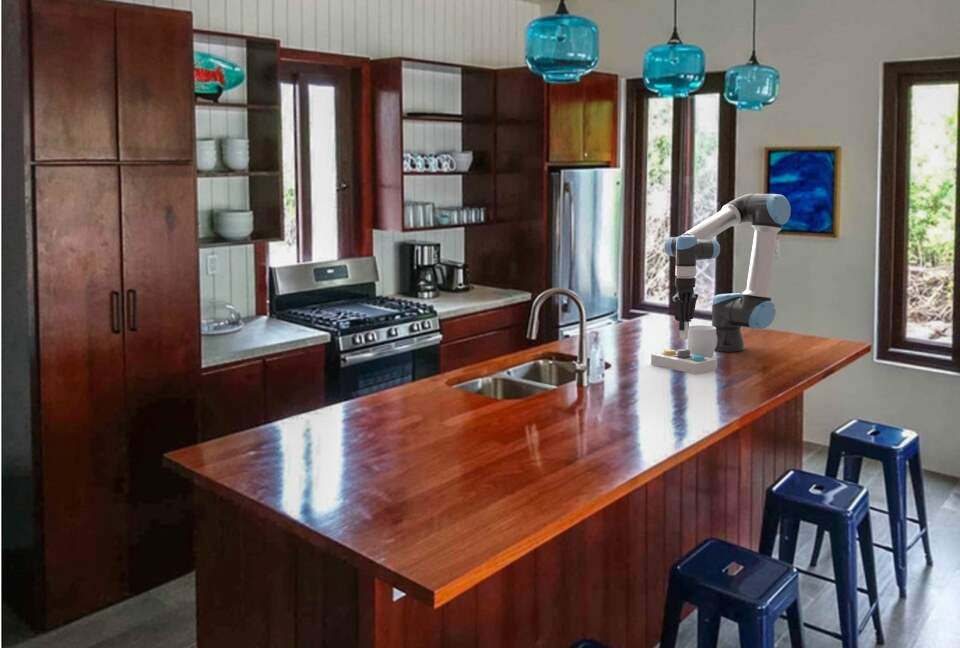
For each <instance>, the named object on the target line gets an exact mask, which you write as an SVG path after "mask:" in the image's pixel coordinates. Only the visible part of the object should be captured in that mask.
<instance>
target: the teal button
mask: <svg viewBox="0 0 960 648" xmlns="http://www.w3.org/2000/svg"><path fill="white" fill-rule="evenodd" d="M691 360H692V361H696V362H702V361H705V356H702V355H693V356H692V358H691Z"/></svg>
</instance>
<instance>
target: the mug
mask: <svg viewBox="0 0 960 648" xmlns="http://www.w3.org/2000/svg"><path fill="white" fill-rule="evenodd" d="M686 341H687V349H688V350H690V354H693V355H702V356H705V357H708V358H712V357H713V355H714V353H715V348H716V346H717V335H716V327H713V326H712V325H704V324H702V325H701V324H696V325H695V324H694V325H689V329H688V339H686Z"/></svg>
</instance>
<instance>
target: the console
mask: <svg viewBox="0 0 960 648" xmlns="http://www.w3.org/2000/svg"><path fill="white" fill-rule="evenodd" d="M650 355H651V356H650V365H651V366H657V367H661V368H665V369H670V370H675V371H679V372H683V373H688V374H692V375H699V374H702V373H708V372H713V371H717V368H718V359H717V358H712V357H711V358H708V357H705V361H702V362H696V361H692V360H691V358H692V356H693V354H690V358H687V359H682V358H677V350H676V355H673V356H668V355H663V351H661V352H656V353H652V354H650Z"/></svg>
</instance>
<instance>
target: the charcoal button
mask: <svg viewBox="0 0 960 648" xmlns="http://www.w3.org/2000/svg"><path fill="white" fill-rule="evenodd" d="M676 351H677V358H682V359H687V358H690V350H688V348H687V349H686V348H680V349H677V350H676Z"/></svg>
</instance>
